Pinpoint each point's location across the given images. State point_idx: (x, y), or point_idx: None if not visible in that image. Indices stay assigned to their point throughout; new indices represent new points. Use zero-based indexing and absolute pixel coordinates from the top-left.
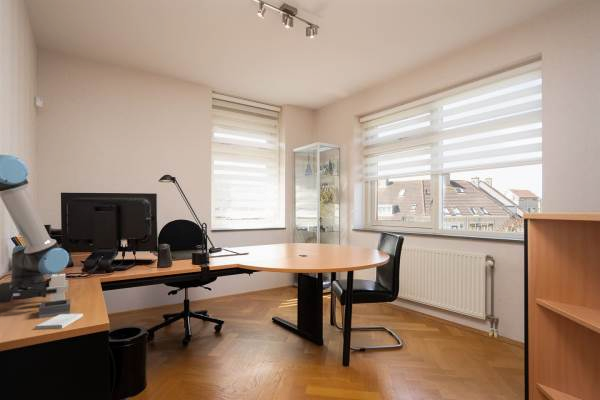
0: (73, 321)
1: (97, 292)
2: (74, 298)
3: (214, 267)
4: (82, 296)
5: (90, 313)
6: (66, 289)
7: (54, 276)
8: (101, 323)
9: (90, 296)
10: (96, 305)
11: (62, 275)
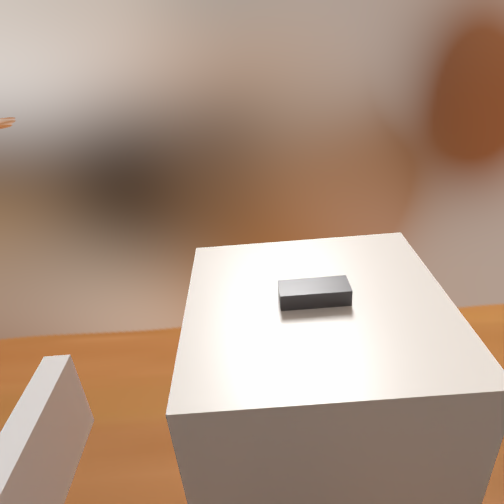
0: None
1: (60, 338)
2: (142, 462)
3: (9, 126)
4: (112, 410)
5: None
6: None
7: (474, 344)
8: None
9: (163, 364)
10: (479, 322)
11: (414, 252)
